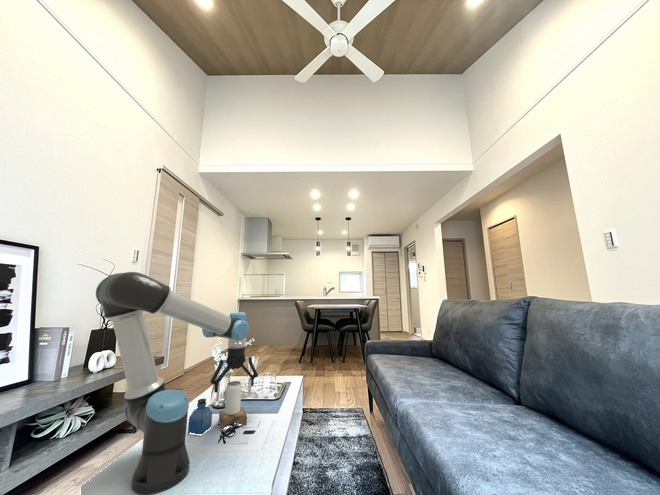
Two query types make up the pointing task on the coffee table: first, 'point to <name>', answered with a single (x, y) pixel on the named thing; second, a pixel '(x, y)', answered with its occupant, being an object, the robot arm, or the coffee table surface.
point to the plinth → (232, 418)
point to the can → (233, 398)
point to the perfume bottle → (200, 418)
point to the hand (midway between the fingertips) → (233, 397)
